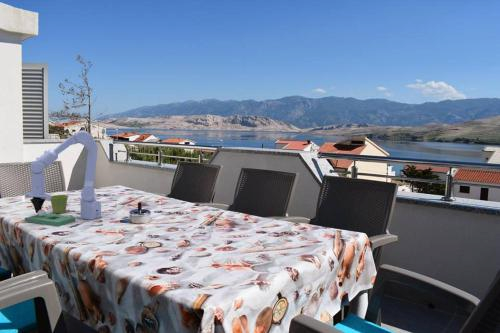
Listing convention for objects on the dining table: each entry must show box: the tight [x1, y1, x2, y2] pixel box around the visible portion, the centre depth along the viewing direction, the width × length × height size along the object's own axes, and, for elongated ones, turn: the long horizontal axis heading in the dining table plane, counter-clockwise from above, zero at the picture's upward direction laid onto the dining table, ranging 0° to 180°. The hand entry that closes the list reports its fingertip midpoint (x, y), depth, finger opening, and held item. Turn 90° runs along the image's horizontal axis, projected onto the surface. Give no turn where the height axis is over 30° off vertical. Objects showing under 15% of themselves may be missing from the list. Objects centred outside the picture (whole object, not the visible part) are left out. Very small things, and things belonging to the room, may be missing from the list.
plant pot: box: [49, 194, 69, 214], centre depth 210 cm, size 9×9×9 cm
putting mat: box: [24, 213, 76, 227], centre depth 191 cm, size 20×11×2 cm, turn 71°
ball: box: [37, 209, 46, 217], centre depth 192 cm, size 4×4×4 cm
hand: (38, 212), depth 193 cm, fingers closed
